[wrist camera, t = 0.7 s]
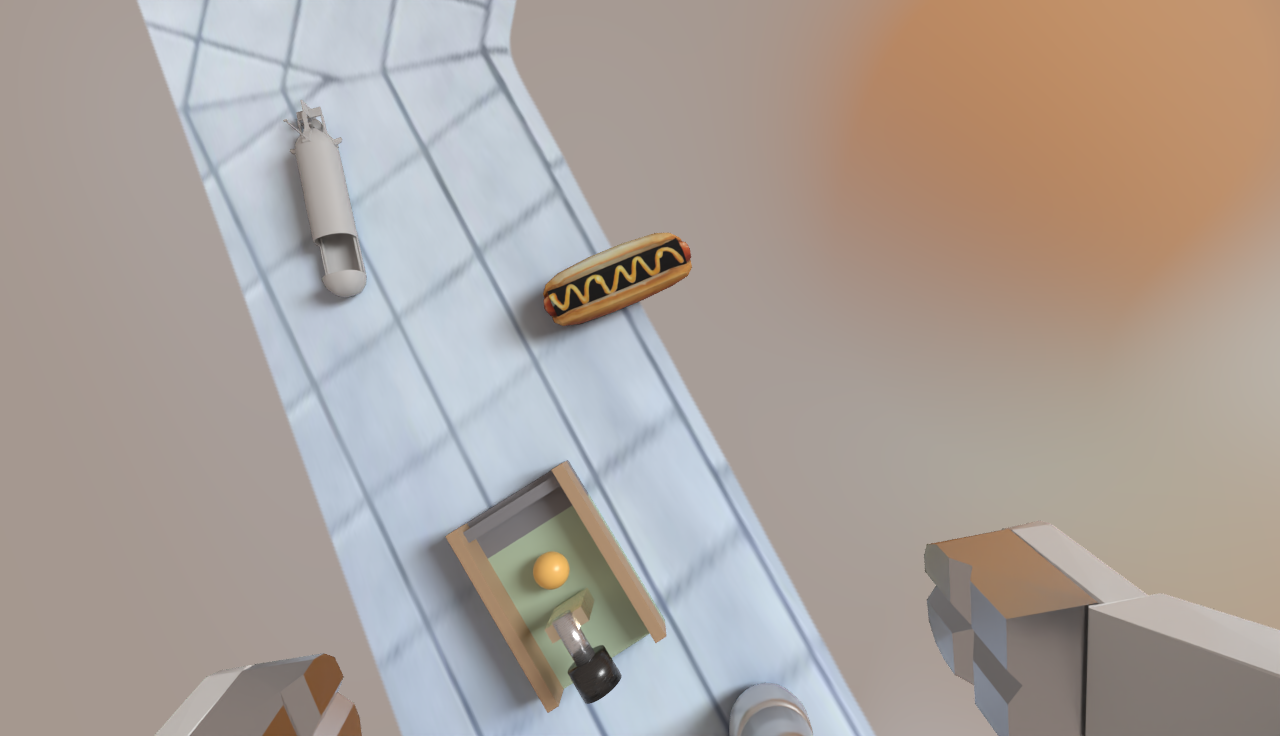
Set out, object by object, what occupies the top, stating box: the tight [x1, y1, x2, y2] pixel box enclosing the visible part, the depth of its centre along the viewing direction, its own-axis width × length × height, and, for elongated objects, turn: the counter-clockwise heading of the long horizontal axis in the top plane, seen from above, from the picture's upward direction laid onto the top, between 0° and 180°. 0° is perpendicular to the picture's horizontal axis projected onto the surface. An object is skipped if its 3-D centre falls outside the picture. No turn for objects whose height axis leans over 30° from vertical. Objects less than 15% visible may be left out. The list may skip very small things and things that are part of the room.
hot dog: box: [543, 233, 692, 326], centre depth 51 cm, size 5×13×5 cm, turn 113°
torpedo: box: [283, 100, 367, 297], centre depth 52 cm, size 18×5×6 cm, turn 15°
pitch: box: [445, 460, 666, 713], centre depth 49 cm, size 16×11×4 cm
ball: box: [533, 551, 570, 590], centre depth 49 cm, size 3×3×3 cm
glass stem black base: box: [545, 588, 621, 704], centre depth 46 cm, size 6×3×7 cm, turn 32°
